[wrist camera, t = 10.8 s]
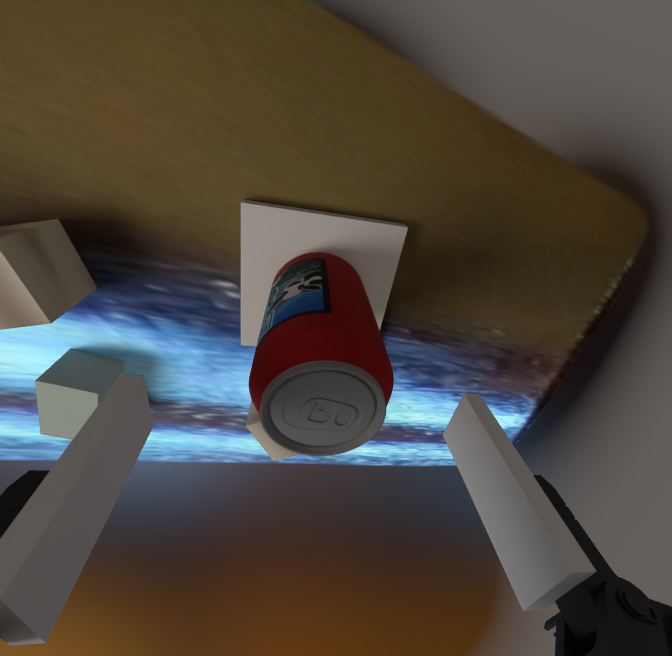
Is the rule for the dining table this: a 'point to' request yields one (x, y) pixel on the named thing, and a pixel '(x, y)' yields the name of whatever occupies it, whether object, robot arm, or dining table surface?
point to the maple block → (265, 437)
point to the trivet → (306, 237)
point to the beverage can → (320, 359)
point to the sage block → (73, 391)
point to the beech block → (39, 274)
